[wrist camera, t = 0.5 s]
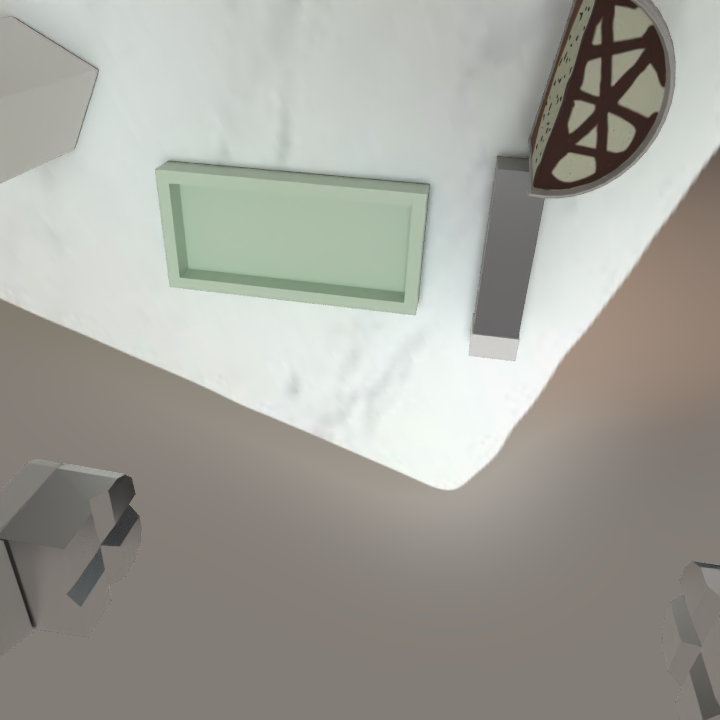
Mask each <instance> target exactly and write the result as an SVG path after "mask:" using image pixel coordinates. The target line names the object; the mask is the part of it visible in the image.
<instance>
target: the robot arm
mask: <svg viewBox="0 0 720 720" xmlns="http://www.w3.org/2000/svg"><path fill="white" fill-rule="evenodd" d="M134 496H135V489H134V485H133V481H132V478H131V477H129V476H127V475H125V474H120V473H115V472H109V471H104V470H98V469H93V468H87V467H82V466H76V465H70V464H61V463H56V462H50V461H44V460H39V459H36V460H33V461H30V462H28V463H26V464H25V465H24V466H23V467H22V468H21V469H20V470H19V471H18V472H17V473H16V474H15V475H14V476H13V477H12V478H11V480H10V481H9V482H8V483H7V484H6V485H5V486H4V487H3V488H2V489H1V490H0V657H1V656H2V655H4V654H5V653H6V652H8V651H9V650H10V649H12V648H13V647H14V646H16V645H17V644H18V643H20V642H21V641H23V640H24V639H25V638H27V637H28V636H30V635H31V634H32V633H33V632H34V631H33V629H36V630H43V631H49V632H55V633H61V634H68V635H74V636H81V637H87V638H89V637H90V635H91V633H92V632H93V630H94V628H95V627H96V625H97V623H98V622H99V620H100V618H101V617H102V615H103V613H104V612H105V610H106V609H107V606H108V605H109V604H110V602H111V595H110V589H109V586H111V585H112V584H114V583H116V582H117V581H119V580H121V579H122V578H124V577H126V575H127V574H128V572H129V570H130V568H131V567H132V565H133V563H134V561H135V558H136V555H137V552H138V549H139V546H140V542H141V522H140V517H139V515H138V514H137V513H136V512H135V510H134V509H133V508H132V507H131V506H130V505H129V503H130V502H131V500H132V499H133V497H134ZM680 584H681V587H682V590H683V593H684V594H683V595H681V596H680V597H678V598H676V599H674V600H672V601H671V602H670V604H669V607H668V609H667V612H666V614H665V617H664V623H663V633H662V641H663V642H662V643H663V653H664V658H665V662H666V667H667V671H668V672H669V673H670V674H671V675H672V676H673V677H674V679H675V680H676V681H677V682H678V683H679V684H680V685H681V686H682V688H681V690H680V692H679V694H678V697H677V699H676V701H675V703H676V707H677V711H678V715H679V719H680V720H720V565H714V564H707V563H700V562H693V561H692V562H690V563H689V564H688V565H687V566H686V567H685V569H684V571H683V573H682V575H681V578H680Z"/></svg>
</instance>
